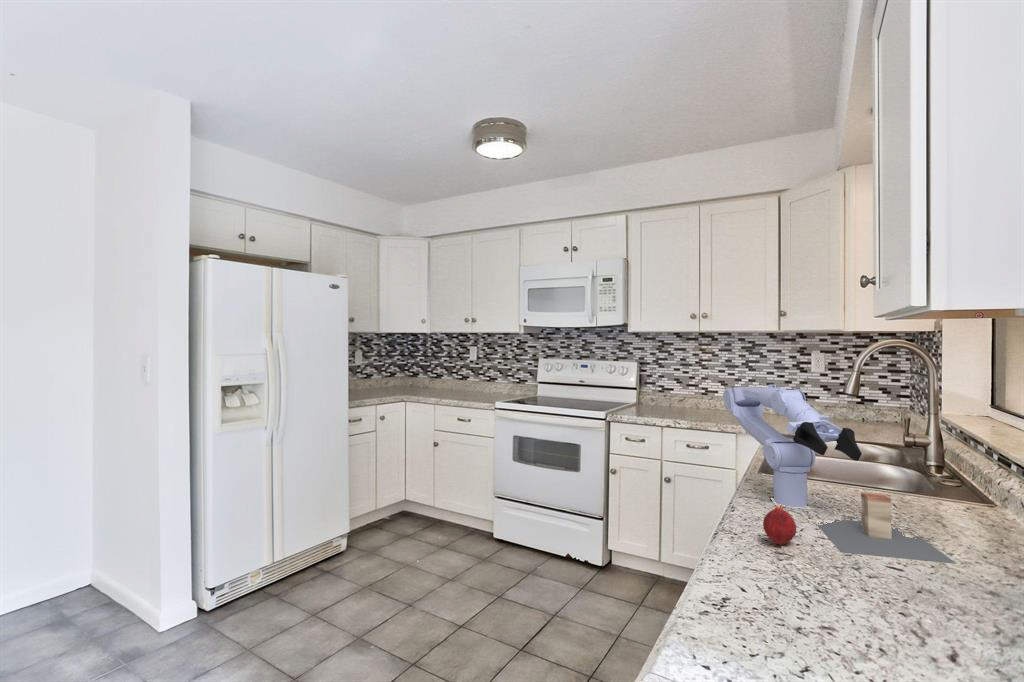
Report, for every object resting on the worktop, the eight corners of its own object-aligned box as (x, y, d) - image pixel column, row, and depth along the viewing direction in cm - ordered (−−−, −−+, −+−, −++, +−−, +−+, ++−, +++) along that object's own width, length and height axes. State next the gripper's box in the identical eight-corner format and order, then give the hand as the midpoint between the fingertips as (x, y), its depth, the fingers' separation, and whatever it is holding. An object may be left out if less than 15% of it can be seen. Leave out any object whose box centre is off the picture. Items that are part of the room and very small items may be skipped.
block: (861, 530, 109) (860, 492, 109) (883, 532, 107) (883, 493, 108) (868, 536, 105) (867, 497, 105) (891, 538, 104) (890, 498, 104)
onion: (799, 552, 98) (798, 510, 98) (765, 549, 100) (765, 507, 100) (793, 542, 103) (792, 501, 103) (761, 538, 105) (761, 499, 105)
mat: (810, 519, 118) (810, 517, 118) (903, 526, 112) (903, 524, 112) (841, 554, 97) (841, 552, 97) (957, 566, 91) (957, 563, 91)
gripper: (784, 400, 119) (816, 432, 106) (843, 410, 120) (882, 443, 107) (772, 426, 121) (803, 460, 109) (830, 435, 122) (867, 471, 110)
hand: (841, 454), depth 108 cm, fingers open, 7 cm apart
